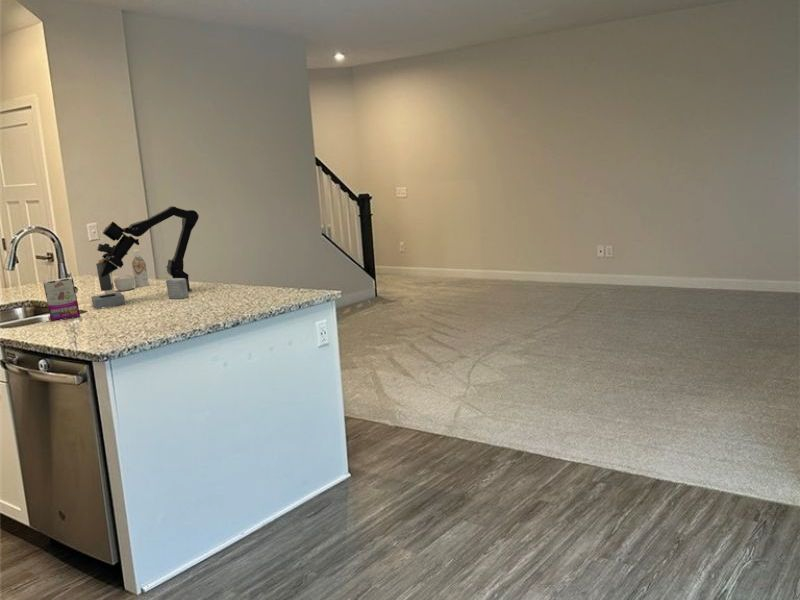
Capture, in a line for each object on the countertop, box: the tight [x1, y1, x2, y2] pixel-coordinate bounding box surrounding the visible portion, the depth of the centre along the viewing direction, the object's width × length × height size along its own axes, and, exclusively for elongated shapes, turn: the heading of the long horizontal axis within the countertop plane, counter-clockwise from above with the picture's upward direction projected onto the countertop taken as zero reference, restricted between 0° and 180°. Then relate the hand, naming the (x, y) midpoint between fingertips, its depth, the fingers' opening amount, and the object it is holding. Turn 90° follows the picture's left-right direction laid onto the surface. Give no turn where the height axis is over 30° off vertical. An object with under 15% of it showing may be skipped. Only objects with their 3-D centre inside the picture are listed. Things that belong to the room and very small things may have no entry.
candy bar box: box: [42, 276, 81, 322], centre depth 285 cm, size 11×5×16 cm, turn 117°
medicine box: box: [165, 277, 189, 300], centre depth 310 cm, size 8×4×9 cm, turn 65°
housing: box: [90, 291, 126, 309], centre depth 309 cm, size 12×12×4 cm
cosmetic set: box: [104, 249, 150, 295], centre depth 345 cm, size 25×9×19 cm, turn 145°
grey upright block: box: [96, 258, 112, 292], centre depth 306 cm, size 5×5×14 cm
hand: (100, 275), depth 305 cm, fingers closed on grey upright block, 5 cm apart
